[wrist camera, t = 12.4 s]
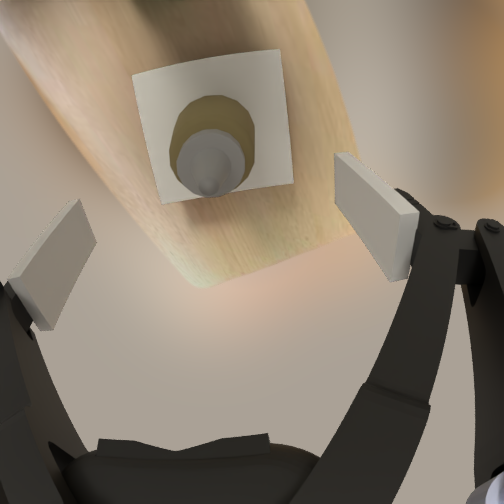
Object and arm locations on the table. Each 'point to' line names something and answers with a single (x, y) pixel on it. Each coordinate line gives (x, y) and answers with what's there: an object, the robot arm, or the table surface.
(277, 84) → the display podium
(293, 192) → the table surface
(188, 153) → the squeeze bottle
